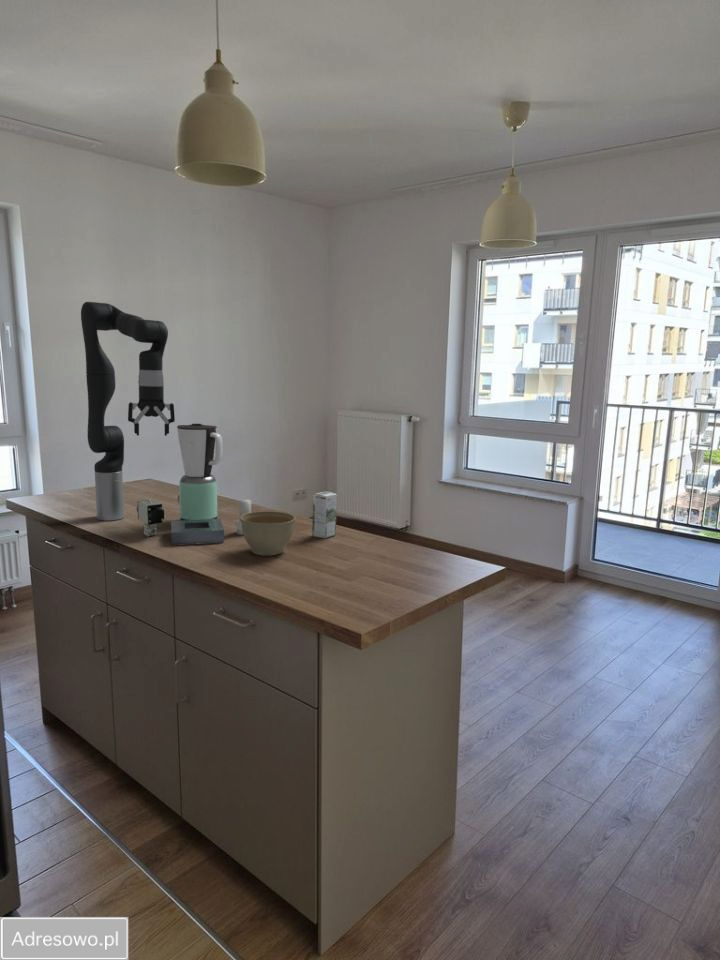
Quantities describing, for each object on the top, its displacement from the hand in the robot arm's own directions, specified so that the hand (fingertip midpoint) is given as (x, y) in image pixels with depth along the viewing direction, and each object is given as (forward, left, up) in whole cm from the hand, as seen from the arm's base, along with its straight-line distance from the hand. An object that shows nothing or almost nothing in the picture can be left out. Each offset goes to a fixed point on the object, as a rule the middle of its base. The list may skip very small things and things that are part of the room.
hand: (151, 435), depth 207 cm
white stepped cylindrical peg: (+5, +29, -33) cm, 44 cm away
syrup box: (+14, +54, -33) cm, 65 cm away
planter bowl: (+29, +33, -33) cm, 55 cm away
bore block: (+8, +13, -33) cm, 36 cm away
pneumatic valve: (+2, -1, -33) cm, 33 cm away
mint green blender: (-13, +15, -33) cm, 38 cm away
